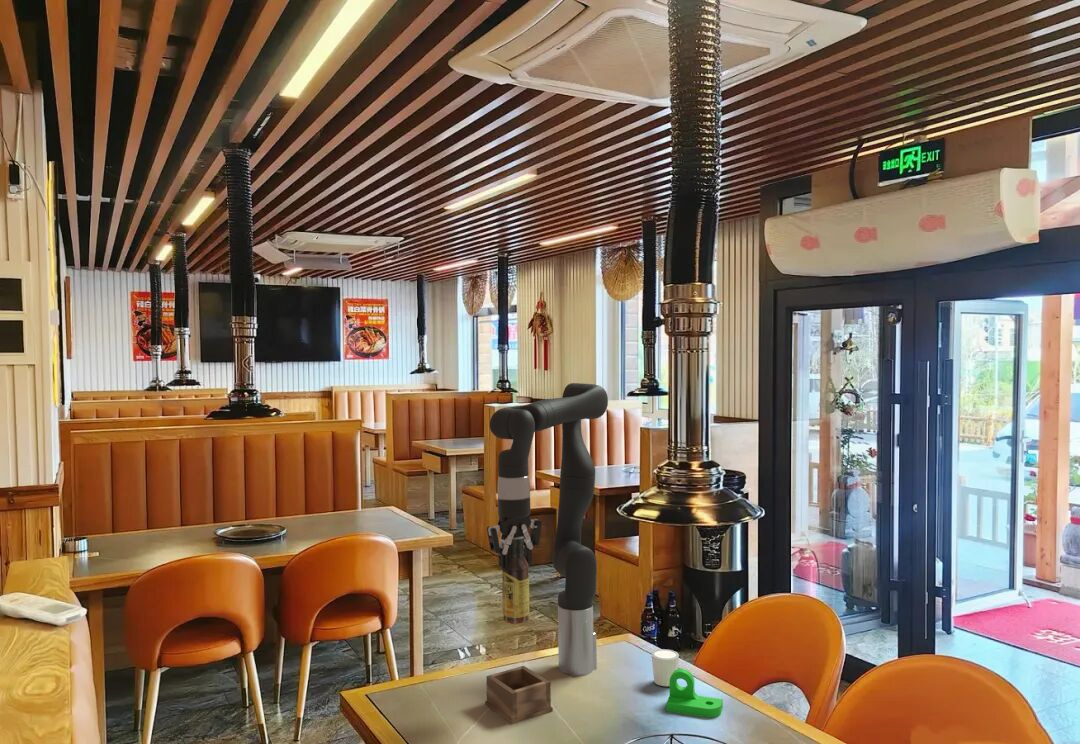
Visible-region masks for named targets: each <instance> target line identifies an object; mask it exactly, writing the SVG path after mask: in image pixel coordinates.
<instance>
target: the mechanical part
mask: <svg viewBox="0 0 1080 744" xmlns="http://www.w3.org/2000/svg"><path fill="white" fill-rule="evenodd" d="M681 679H682V680H684V681H685V682H686V686H681V685H679V683H678V681H677V680H681ZM665 704H666V712H669V713H675V714H683V715H690V716H695V717H703V718H717V717H719V716H721V714H722V712H723V704H724V703H723V698H716V697H711V696H710V697H709V696H702V695H698V694H696V692H695V678H694V675H693V674H692V673H691V671H689V670H688V669H686V668H678V669H677V670H675V671H674V672H673V673H672V675H671V677H670V686H669V696H668V698H667V701H666V703H665Z"/></svg>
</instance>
